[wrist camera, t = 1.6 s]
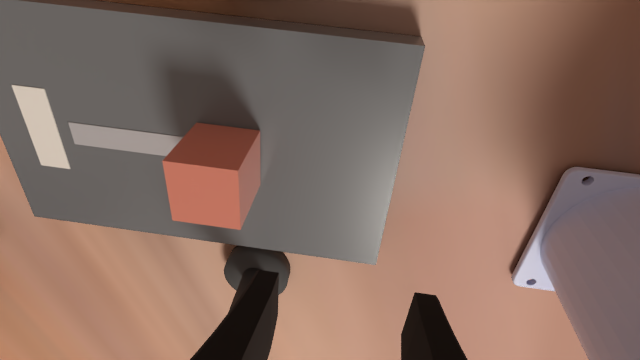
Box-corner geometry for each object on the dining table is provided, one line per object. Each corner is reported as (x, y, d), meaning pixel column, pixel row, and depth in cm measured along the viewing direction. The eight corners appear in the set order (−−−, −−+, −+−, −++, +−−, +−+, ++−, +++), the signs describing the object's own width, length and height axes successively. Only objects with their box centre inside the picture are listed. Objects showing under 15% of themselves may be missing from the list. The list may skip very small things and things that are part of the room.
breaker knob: (260, 130, 18) (237, 170, 15) (260, 184, 20) (240, 229, 17) (196, 122, 18) (162, 160, 15) (202, 176, 20) (172, 220, 17)
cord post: (291, 246, 24) (253, 394, 16) (289, 290, 26) (255, 437, 19) (227, 237, 24) (161, 378, 17) (230, 281, 26) (173, 424, 19)
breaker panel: (421, 36, 16) (425, 46, 15) (375, 246, 23) (375, 265, 22) (-29, -14, 17) (-61, -9, 16) (52, 201, 24) (33, 216, 23)
